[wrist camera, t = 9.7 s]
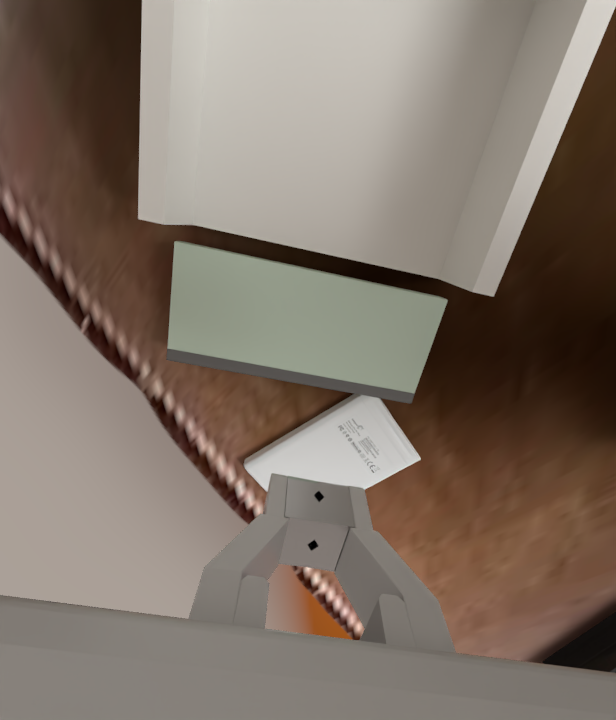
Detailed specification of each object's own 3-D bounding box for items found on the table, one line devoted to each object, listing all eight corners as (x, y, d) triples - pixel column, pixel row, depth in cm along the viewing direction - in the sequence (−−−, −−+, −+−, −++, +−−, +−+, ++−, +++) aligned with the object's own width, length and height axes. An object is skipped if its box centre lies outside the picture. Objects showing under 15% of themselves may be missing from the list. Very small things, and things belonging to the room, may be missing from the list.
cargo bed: (549, -7, 17) (697, -145, 11) (446, 279, 23) (504, 300, 16) (201, -118, 16) (132, -362, 9) (180, 220, 21) (127, 218, 15)
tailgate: (448, 300, 21) (411, 403, 24) (440, 296, 22) (405, 395, 25) (174, 241, 19) (166, 359, 22) (181, 240, 21) (173, 353, 23)
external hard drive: (245, 454, 29) (369, 380, 26) (299, 512, 31) (416, 450, 29) (242, 467, 27) (373, 389, 25) (299, 526, 30) (422, 462, 27)
